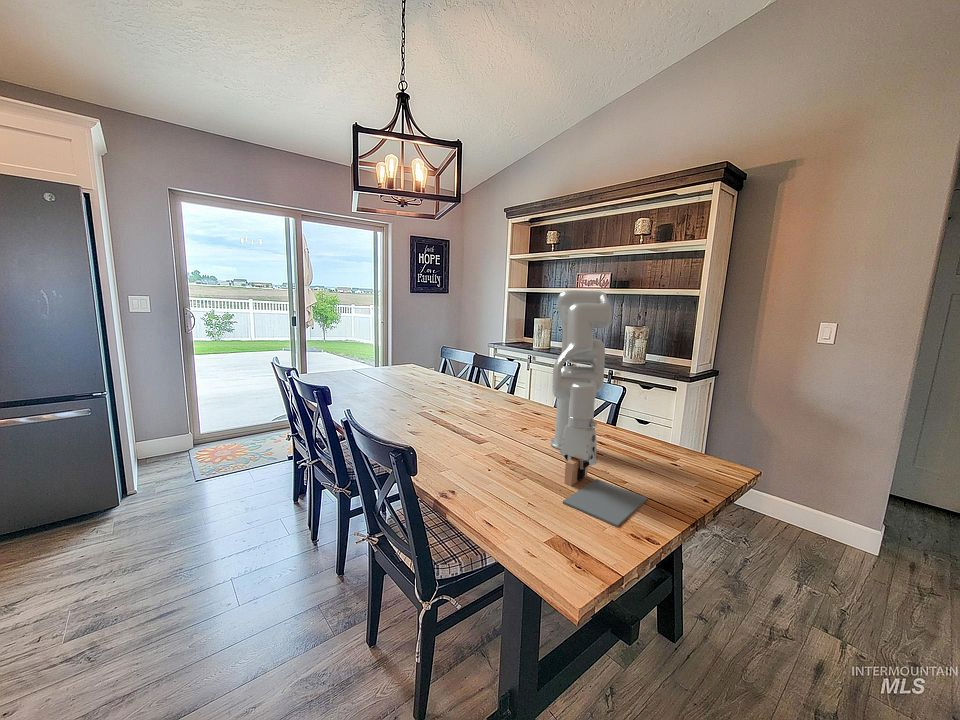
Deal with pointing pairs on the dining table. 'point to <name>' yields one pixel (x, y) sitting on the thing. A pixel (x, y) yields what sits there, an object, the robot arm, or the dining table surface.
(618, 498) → the rubber mat
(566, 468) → the terracotta tile
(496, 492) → the dining table surface
